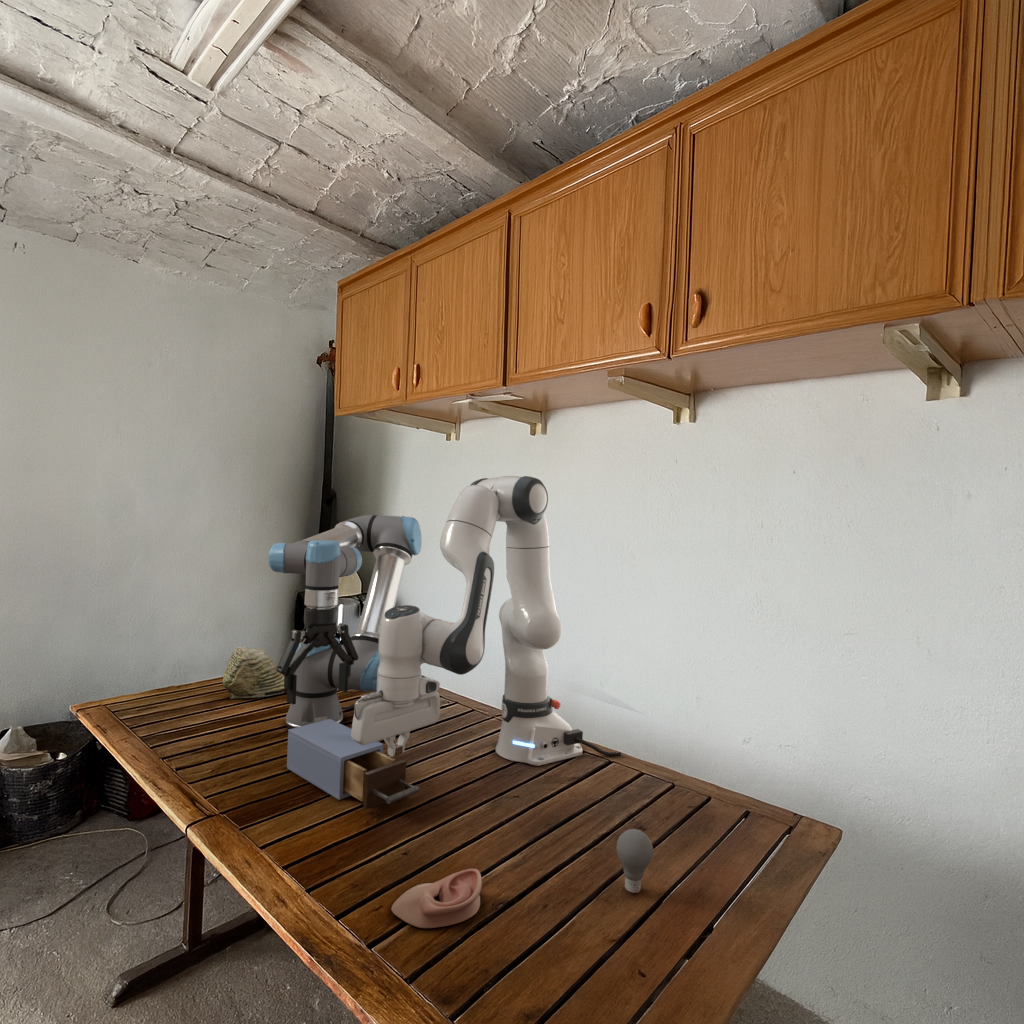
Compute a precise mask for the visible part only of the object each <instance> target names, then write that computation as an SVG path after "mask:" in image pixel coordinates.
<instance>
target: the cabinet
mask: <svg viewBox="0 0 1024 1024" xmlns="http://www.w3.org/2000/svg"><path fill="white" fill-rule="evenodd" d="M351 730H352V728H351V727H348V726H346V725H344V724H342V723H341V724H340V723H338V722H335V721H333V720H331V719H328V720H324V721H320V722H316V723H312V724H308V725H305V726H301V727H297V728H293V729H289V728H288V730H287V731H288V732H287V752H286V753H287V755H286V769H287V770H289V771H291V772H292V773H294V774H295V775H297V776H298V777H300V778H302V779H304V780H305V781H307V782H309V784H312V785H314V786H315V787H317V788H318V789H320V790H322V791H323V792H325V793H327V794H328V795H330V796H332V797H333V798H335V799H337V800H338V801H340V800H343V799H346V798H349V797H352V796H351V795H350V794H348V793H346V792H345V791H343V781H344V761H345V760H348V759H351V758H354V757H357V756H360V755H363V754H366V753H369V752H373V751H376V750H377V751H379V752H381V753H383V754H384V745H385V744H384V743H382V742H380V741H376V742H372V743H369V744H366V745H361V744H359V743H357V742H355V741H354V740H353V739H352V737H351Z"/></svg>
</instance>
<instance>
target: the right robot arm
mask: <svg viewBox="0 0 1024 1024" xmlns="http://www.w3.org/2000/svg"><path fill="white" fill-rule="evenodd" d="M548 503H549V494H548V491H547V487H546V486H545V485H544V483H543V481H542V480H541V479H539V478H536V477H533V476H528V475H524V476H518V475H502V476H498V477H497V476H496V477H490V478H487V477H485V478H484V477H483V478H480V479H476V480H474V481H473V482H472V483H470V485H468V486H465V487H464V488H463V489H462V490H461V491H460V493H459V495H458V496H457V498H456V499H455V501H454V504H453V506H452V507H451V510H450V512H449V514H448V516H447V518H446V522H445V524H444V526H443V529H442V532H441V535H440V539H439V547H440V551H441V553H442V554H441V555H442V556H443V558H444V559H445V561H446V562H448V564H450V565H451V566H452V567H454V569H457V571H459V572H461V573H462V574H463V576H464V578H465V581H466V582H465V583H466V587H465V593H464V598H463V603H462V609H461V613H460V614H461V615H460V617H459V619H458V621H455V622H453V621H448V620H444V619H441V618H436V617H432V616H430V615H427V614H425V613H424V612H423V611H421V609H420V608H419V607H418V606H416V605H411V604H410V605H408V604H405V605H395V607H393V608H391V609H389V610H387V611H386V612H385V613H384V615H383V618H382V621H381V626H380V632H379V645H378V653H379V657H380V664H379V667H378V671H377V691H373V692H371V693H368V694H367V693H366V694H363V695H361V697H360V698H359V699H358V700H357V701H355V703H354V704H355V707H354V710H353V711H354V712H353V717H352V723H351V729H352V730H351V737H352V739H353V740H354V741H355V742H357V743H359V744H361V745H366V744H369V743H372V742H376V741H378V742H380V741H381V740H383V741H384V743H385V745H386V746H387V756H389V757H391V758H393V757H396V756H398V755H401V754H404V753H405V747H406V744H407V742H408V740H409V738H410V735H411V731H414V730H417V729H420V728H424V727H428V726H430V725H433V724H436V723H437V722H438V721H439V718H440V716H441V697H440V693H439V692H438V691H439V690H440V687H441V684H440V683H441V682H440V681H439V680H437V679H434V678H431V677H429V676H425V675H423V676H422V668H421V665H423V664H426V665H429V666H433V667H437V668H442V669H444V670H445V671H449V672H451V673H454V674H456V675H459V676H461V675H465V674H468V673H470V672H471V671H473V670H474V669H475V668H477V666H479V664H480V663H481V662H482V660H483V657H484V655H485V648H486V646H485V645H486V628H487V627H486V626H487V620H488V614H489V608H490V602H491V596H492V592H493V586H494V585H493V584H494V578H495V562H494V559H493V558H492V556H491V555H490V548H491V547H490V545H491V542H492V538H493V535H494V531H495V528H496V525H497V522H498V523H499V522H501V523H502V522H503V523H505V524H506V532H505V564H506V567H505V569H506V579H507V583H508V585H509V589H510V595H511V597H510V598H508V599H507V600H505V601H504V602H503V603H502V605H501V606H500V609H499V612H498V618H499V623H500V626H501V637H502V646H503V647H502V648H503V655H504V693H503V695H502V699H501V726H500V732H499V734H498V735H499V737H498V740H497V743H496V746H495V750H494V751H495V753H496V754H497V755H498V756H500V757H501V758H503V759H506V760H509V761H512V762H516V763H517V762H519V763H525V764H529V765H531V766H536V767H540V766H543V765H547V764H551V763H556V762H560V761H564V760H567V759H572V758H576V757H580V756H583V748H582V745H583V746H586V747H588V748H590V749H592V750H593V751H595V752H596V753H599V754H600V755H603V756H607V757H622V752H620V751H619V752H618V751H615V752H614V751H613V752H612V751H606V750H602V749H601V748H599V747H597V746H596V745H594V744H592V743H590V742H588V741H586V740H584V739H583V737H584V735H583V734H584V732H583V731H582V730H581V729H579V728H576V729H573V728H572V726H571V725H570V723H568V722H567V721H566V720H565V719H564V718H563V717H562V716H560V715H559V714H558V713H556V712H555V711H554V709H555V710H559V709H560V708H561V702H560V701H559V700H557V699H553V698H552V697H551V696H548V686H549V664H548V662H547V658H546V654H545V650H548V649H551V648H553V647H554V646H556V644H557V643H558V642H559V641H560V639H561V637H562V633H563V623H562V620H561V619H560V616H559V614H558V611H557V607H556V601H555V595H554V591H553V586H552V581H551V569H550V568H551V566H550V537H549V536H550V535H549V527H548V520H547V516H546V511H547V508H548ZM553 708H554V709H553ZM397 735H399V736H398V738H397V741H396V737H397ZM394 741H396V743H395V742H394ZM581 744H582V745H581ZM616 752H617V753H616Z"/></svg>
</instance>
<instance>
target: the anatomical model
mask: <svg viewBox="0 0 1024 1024" xmlns="http://www.w3.org/2000/svg"><path fill="white" fill-rule="evenodd" d="M482 879H483V878H482V874H481V871H480V870H478V869H477V868H467V869H463V870H460V871H457V872H454V873H452V874H449V875H446V876H445V877H443V878H441V879H439V880H437V881H434V882H426V883H420V884H417V885H414V886H413V887H411V888H409V889H408V890H406V891H404V893H402V894H401V895H399V897H398V898H397V899H396V900H395V901H394V902H393V904H392V906H391V912H392V914H393V915H395V917H397V918H399V919H400V920H402V921H403V922H404V923H407V924H409V925H411V926H413V927H415V928H418V929H432V928H433V929H435V928H440V927H441V928H442V927H447V926H452V925H457V924H459V923H462V922H464V921H466V920H469V919H470V918H472V917H473V916H474V915H476V914H477V913H478V911H480V910H479V909H480V907H481V896H480V895H481V891H482V886H483V880H482Z"/></svg>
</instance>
